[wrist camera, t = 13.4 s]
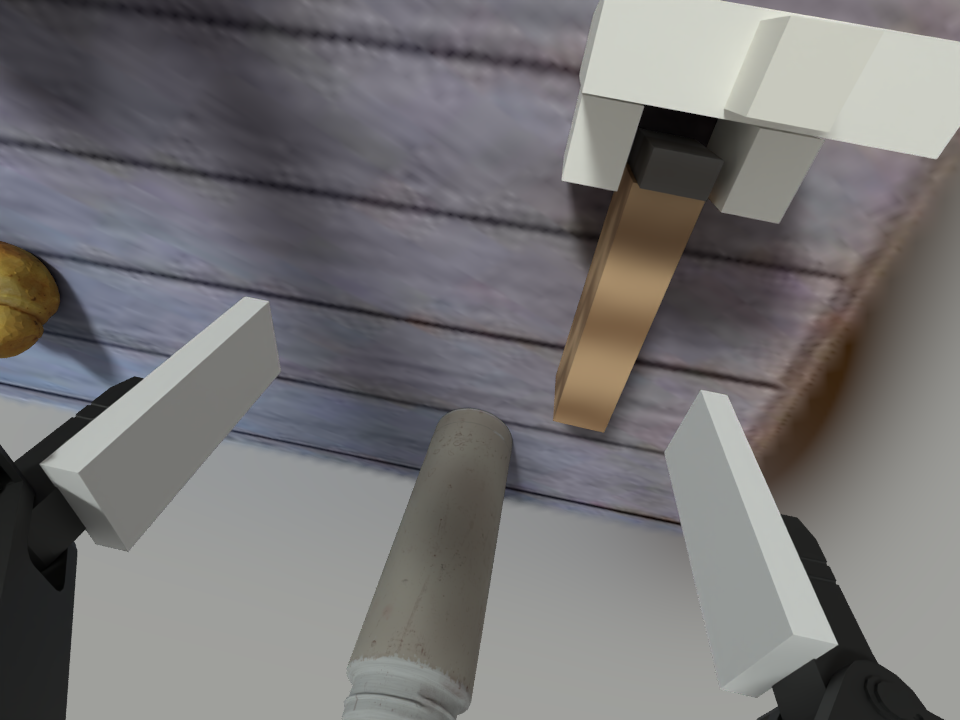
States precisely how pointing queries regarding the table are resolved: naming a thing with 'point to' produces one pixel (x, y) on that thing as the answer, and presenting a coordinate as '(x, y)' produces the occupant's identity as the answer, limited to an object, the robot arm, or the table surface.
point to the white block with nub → (757, 92)
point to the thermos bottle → (435, 580)
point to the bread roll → (23, 299)
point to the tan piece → (631, 271)
